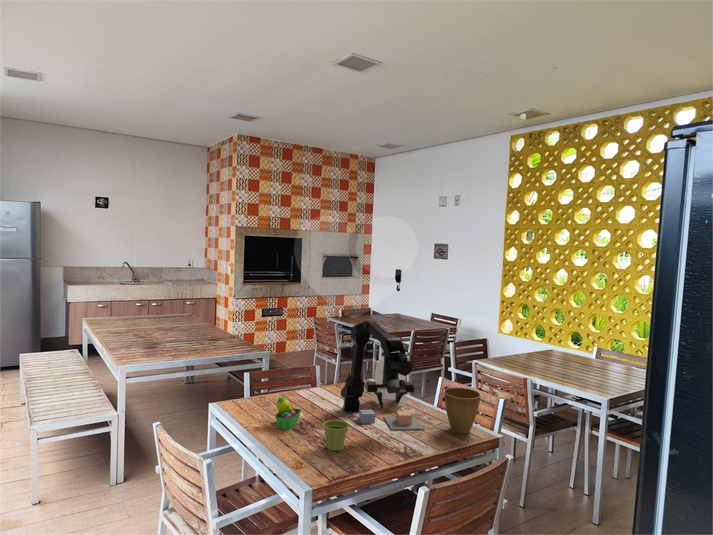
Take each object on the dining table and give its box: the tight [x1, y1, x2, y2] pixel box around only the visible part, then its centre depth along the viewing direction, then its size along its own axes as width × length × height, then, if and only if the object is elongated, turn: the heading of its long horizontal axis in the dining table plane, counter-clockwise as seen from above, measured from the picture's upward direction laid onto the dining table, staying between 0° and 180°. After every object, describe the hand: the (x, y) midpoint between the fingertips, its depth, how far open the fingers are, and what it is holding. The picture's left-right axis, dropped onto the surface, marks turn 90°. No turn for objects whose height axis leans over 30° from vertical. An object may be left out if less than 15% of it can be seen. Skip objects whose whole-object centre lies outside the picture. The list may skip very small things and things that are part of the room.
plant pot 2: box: [443, 387, 482, 435], centre depth 196 cm, size 15×15×16 cm
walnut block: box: [379, 399, 398, 415], centre depth 186 cm, size 6×6×4 cm
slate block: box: [358, 409, 376, 424], centre depth 202 cm, size 6×6×4 cm
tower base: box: [383, 410, 425, 431], centre depth 200 cm, size 14×14×5 cm
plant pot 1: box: [322, 419, 350, 452], centre depth 172 cm, size 9×9×9 cm
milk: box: [372, 352, 407, 408], centre depth 226 cm, size 12×12×26 cm
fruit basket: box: [274, 396, 302, 430], centre depth 192 cm, size 11×9×11 cm
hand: (388, 408), depth 186 cm, fingers closed on walnut block, 5 cm apart
